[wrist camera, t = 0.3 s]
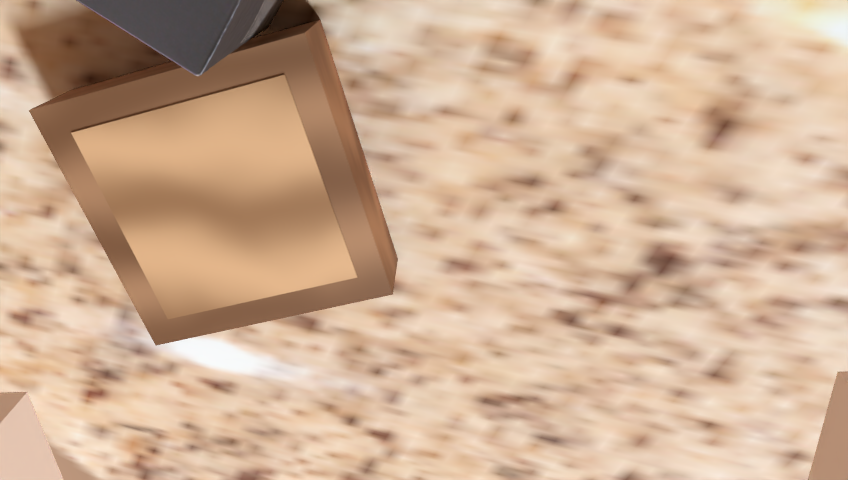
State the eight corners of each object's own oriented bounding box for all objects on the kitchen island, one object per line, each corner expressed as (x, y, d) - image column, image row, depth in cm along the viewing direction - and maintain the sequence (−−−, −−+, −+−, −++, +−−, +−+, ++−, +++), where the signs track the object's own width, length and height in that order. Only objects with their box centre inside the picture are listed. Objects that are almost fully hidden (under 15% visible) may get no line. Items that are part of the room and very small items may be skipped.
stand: (71, 89, 35) (27, 111, 31) (320, 19, 33) (304, 33, 29) (181, 307, 41) (155, 346, 37) (397, 258, 39) (392, 295, 35)
